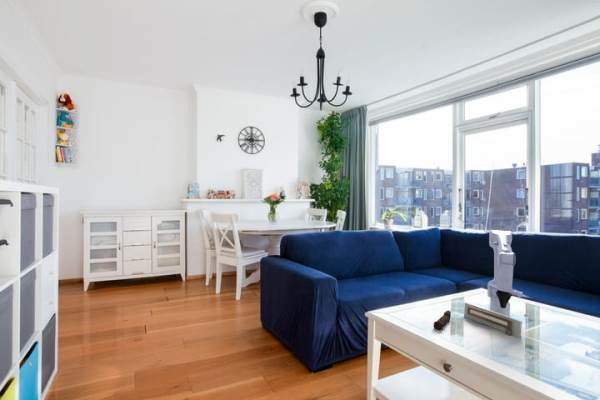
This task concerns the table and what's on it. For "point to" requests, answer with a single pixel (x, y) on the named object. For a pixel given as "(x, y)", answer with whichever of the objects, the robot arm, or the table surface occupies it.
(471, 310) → the grooved wooden rail
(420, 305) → the table surface
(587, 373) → the table surface
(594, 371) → the table surface
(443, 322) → the dark brown bar
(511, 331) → the wall panel
